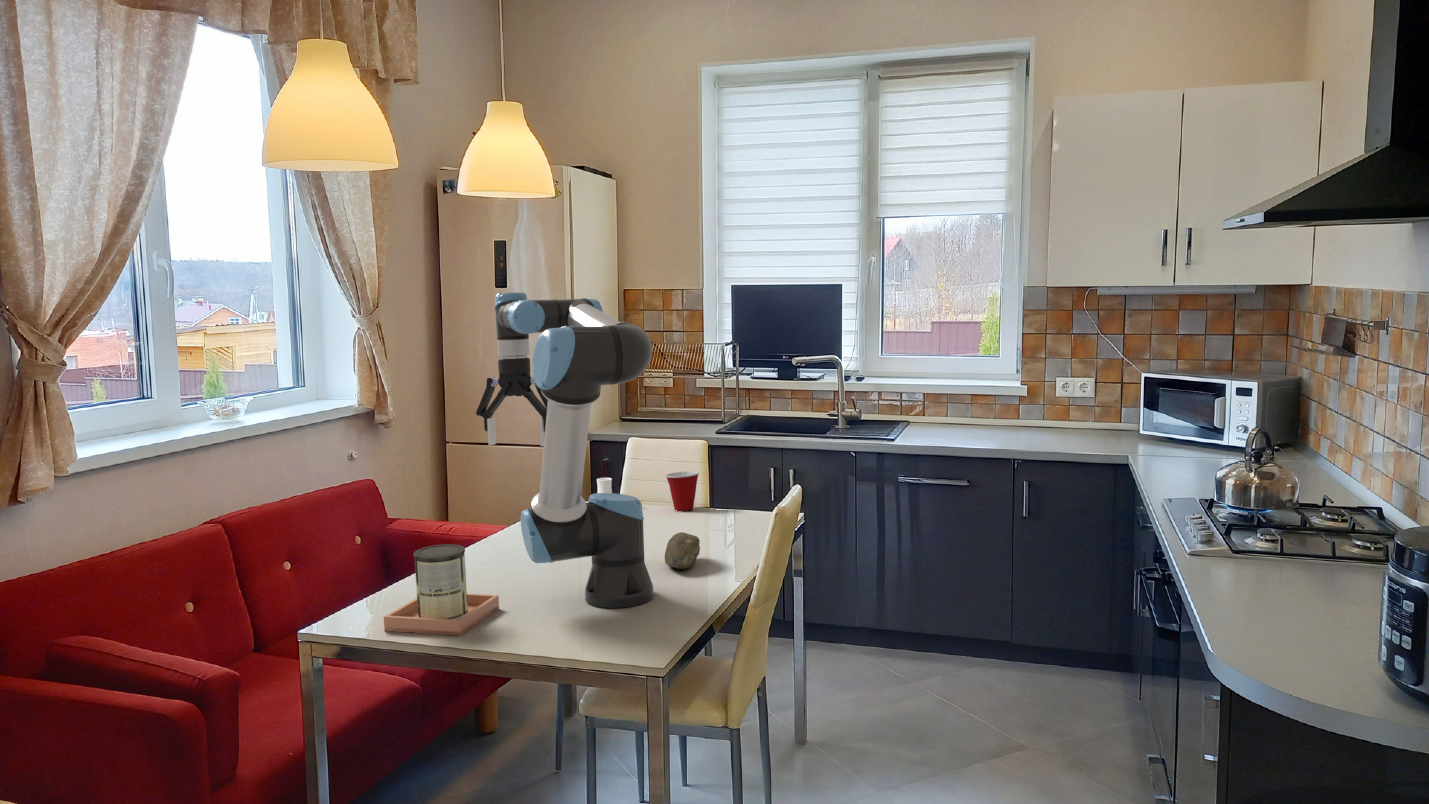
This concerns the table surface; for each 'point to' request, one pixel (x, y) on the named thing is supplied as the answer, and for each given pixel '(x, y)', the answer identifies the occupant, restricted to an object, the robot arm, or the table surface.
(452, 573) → the coffee can
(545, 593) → the table surface
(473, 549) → the table surface
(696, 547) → the stone
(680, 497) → the plastic cup
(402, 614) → the terracotta dish
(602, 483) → the vase
